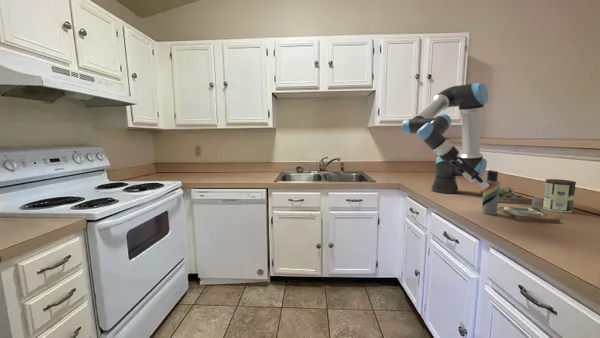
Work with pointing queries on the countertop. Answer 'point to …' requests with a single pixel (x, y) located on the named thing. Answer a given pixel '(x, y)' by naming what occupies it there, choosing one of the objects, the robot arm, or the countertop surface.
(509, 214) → the template board
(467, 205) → the countertop surface
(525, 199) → the square wooden tray
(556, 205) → the coffee can
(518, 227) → the countertop surface
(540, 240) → the countertop surface
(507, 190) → the fruit
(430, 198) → the countertop surface
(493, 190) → the lotion bottle
